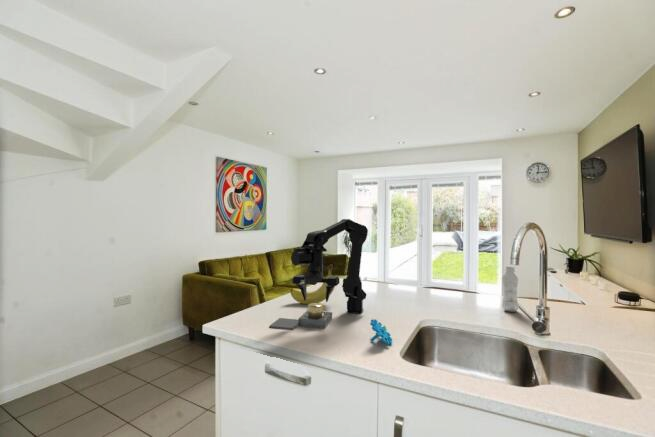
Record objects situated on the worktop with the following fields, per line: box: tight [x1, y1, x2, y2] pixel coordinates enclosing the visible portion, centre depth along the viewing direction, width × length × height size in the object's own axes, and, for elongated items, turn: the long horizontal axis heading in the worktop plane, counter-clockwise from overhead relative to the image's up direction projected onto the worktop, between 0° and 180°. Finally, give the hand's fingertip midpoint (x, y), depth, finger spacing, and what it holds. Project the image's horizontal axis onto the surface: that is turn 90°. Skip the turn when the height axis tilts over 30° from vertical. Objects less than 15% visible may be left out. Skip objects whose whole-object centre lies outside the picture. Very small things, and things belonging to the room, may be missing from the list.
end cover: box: [307, 302, 325, 318], centre depth 127 cm, size 6×6×7 cm
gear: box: [370, 318, 393, 346], centre depth 108 cm, size 11×6×10 cm
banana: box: [290, 263, 335, 305], centre depth 155 cm, size 23×6×20 cm, turn 81°
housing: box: [297, 309, 333, 329], centre depth 127 cm, size 11×11×3 cm
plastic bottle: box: [501, 266, 519, 313], centre depth 142 cm, size 6×7×20 cm
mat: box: [268, 317, 299, 331], centre depth 125 cm, size 10×10×1 cm
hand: (315, 301), depth 127 cm, fingers open, 9 cm apart
